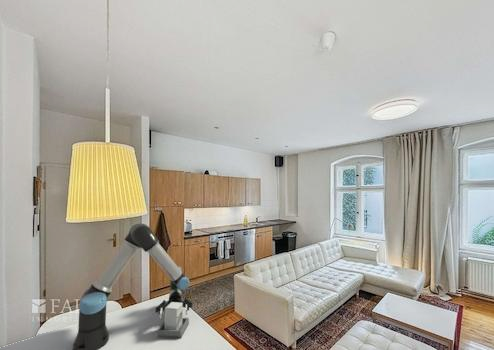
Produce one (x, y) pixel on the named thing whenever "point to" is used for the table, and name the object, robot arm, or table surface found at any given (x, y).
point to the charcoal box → (172, 333)
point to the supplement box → (173, 316)
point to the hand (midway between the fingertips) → (173, 314)
